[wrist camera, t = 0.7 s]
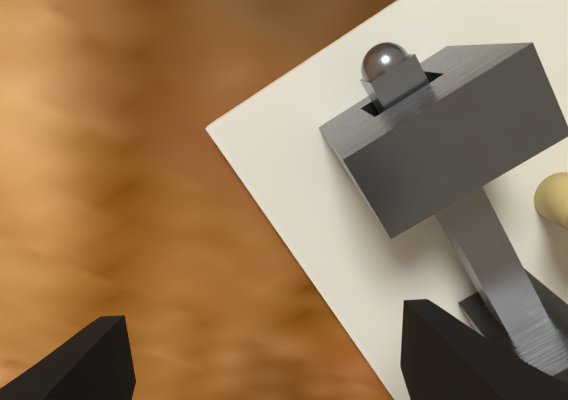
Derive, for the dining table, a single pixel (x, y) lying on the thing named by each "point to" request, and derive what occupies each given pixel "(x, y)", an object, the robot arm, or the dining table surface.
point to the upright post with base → (482, 244)
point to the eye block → (448, 132)
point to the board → (350, 204)
